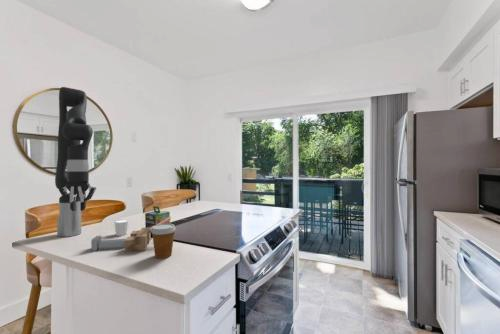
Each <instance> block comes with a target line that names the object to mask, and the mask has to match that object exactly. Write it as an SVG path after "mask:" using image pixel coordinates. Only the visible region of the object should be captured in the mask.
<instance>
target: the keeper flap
mask: <svg viewBox="0 0 500 334" xmlns="http://www.w3.org/2000/svg"><path fill="white" fill-rule="evenodd" d="M169 221H170V222H171V221H172V216H171V215H170V217H168V218H167V219H165V220H163V221H162V222H160V223H158V224H165V223H167V222H169ZM158 224H157V225H158ZM151 229H152V227H151V228H150V229H149V231H148V233H151Z"/></svg>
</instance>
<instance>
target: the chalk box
mask: <svg viewBox="0 0 500 334" xmlns="http://www.w3.org/2000/svg"><path fill="white" fill-rule="evenodd" d="M152 208H153V211H150V212H146V213H145V215H144V219H145V222H144V223H145V224H144V225H145V227H144V228H149V227H153V226H155V225H157V224H158V223H160V222H162V221H163V220H165V219H167V218H168V217H170V216H171V215H170V211H166V210H161V209H160V207H159V206H156V205H155V206H154V205H153V206H152ZM170 222H171V220H170V221H169V222H167V223H165V224H171V223H170ZM151 236H152V232H151ZM152 237H153V236H152Z"/></svg>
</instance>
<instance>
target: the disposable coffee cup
mask: <svg viewBox="0 0 500 334" xmlns="http://www.w3.org/2000/svg"><path fill="white" fill-rule="evenodd" d="M151 232H152V244H153V249H154V257H155V259H167V258H170V257H171V256H172V253H173V247H174V240H175V239H174V237H175V232H176V226H175V224H173V223H170V224H158V225H155V226H153V227H152V229H151Z"/></svg>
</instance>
